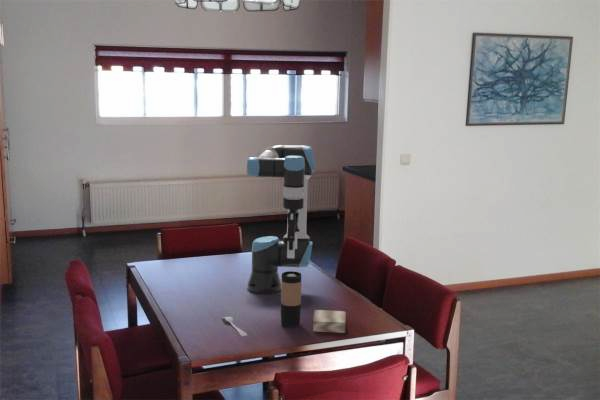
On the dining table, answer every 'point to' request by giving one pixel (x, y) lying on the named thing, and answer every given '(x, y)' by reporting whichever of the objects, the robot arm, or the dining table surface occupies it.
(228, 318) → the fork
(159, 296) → the dining table surface
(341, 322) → the stand
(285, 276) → the travel mug
